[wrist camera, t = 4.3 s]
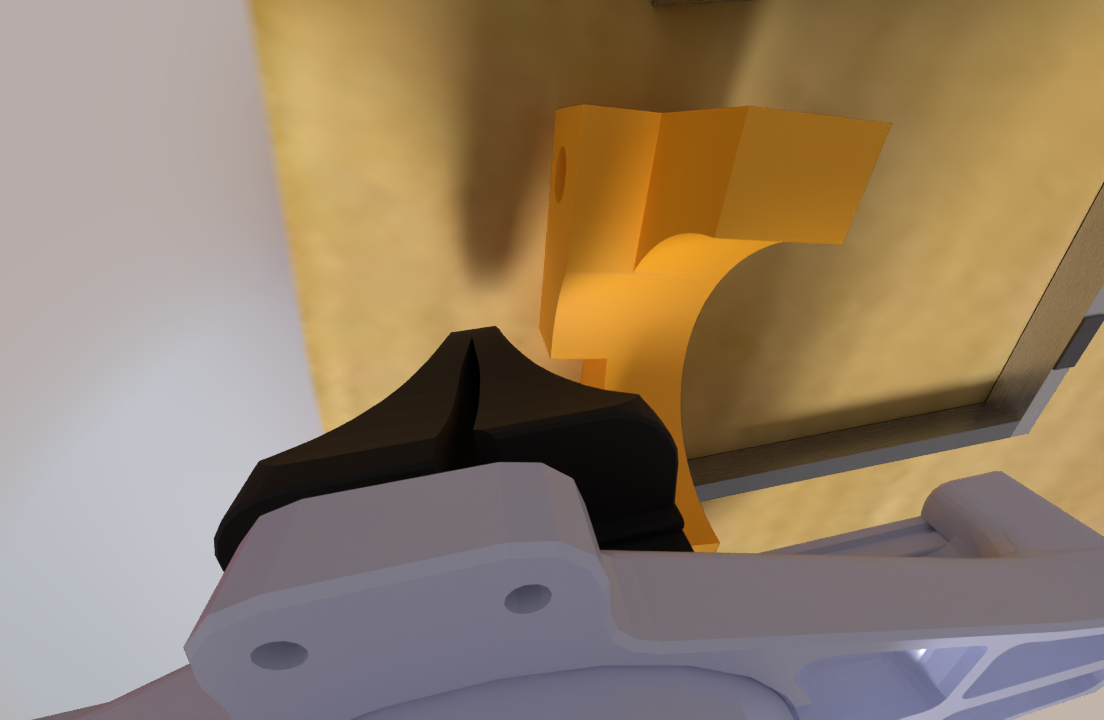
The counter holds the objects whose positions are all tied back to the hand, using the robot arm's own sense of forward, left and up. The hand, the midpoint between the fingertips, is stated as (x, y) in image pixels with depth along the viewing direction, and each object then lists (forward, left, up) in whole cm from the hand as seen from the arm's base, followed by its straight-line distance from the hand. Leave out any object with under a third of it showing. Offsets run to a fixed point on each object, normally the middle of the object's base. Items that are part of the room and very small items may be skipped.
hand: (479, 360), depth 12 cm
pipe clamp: (0, -4, -3) cm, 5 cm away
